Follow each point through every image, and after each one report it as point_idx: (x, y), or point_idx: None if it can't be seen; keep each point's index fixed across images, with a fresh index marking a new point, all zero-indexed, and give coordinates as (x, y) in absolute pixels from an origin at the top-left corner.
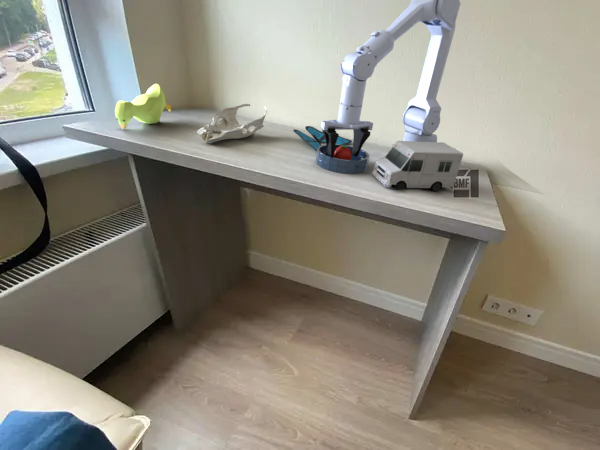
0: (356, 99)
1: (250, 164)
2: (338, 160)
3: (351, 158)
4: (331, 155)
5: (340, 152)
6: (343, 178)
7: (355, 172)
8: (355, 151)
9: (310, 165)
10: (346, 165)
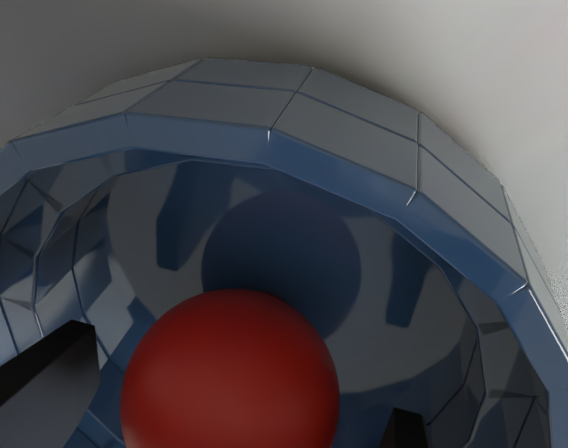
0: None
1: None
2: (525, 269)
3: None
4: (422, 434)
5: (294, 430)
6: (517, 18)
7: (275, 65)
8: (61, 382)
9: None
10: (415, 151)
